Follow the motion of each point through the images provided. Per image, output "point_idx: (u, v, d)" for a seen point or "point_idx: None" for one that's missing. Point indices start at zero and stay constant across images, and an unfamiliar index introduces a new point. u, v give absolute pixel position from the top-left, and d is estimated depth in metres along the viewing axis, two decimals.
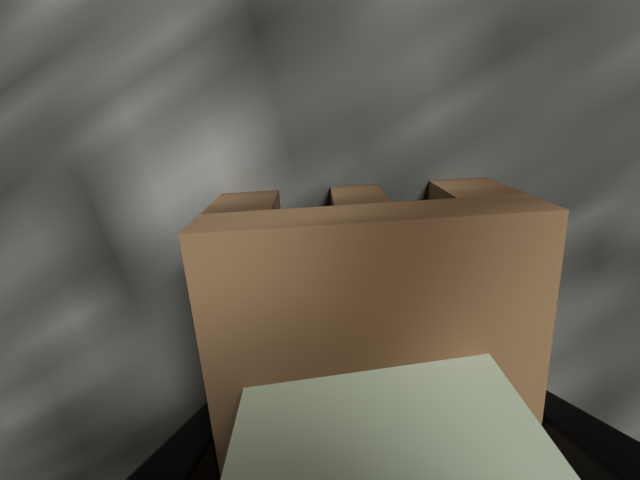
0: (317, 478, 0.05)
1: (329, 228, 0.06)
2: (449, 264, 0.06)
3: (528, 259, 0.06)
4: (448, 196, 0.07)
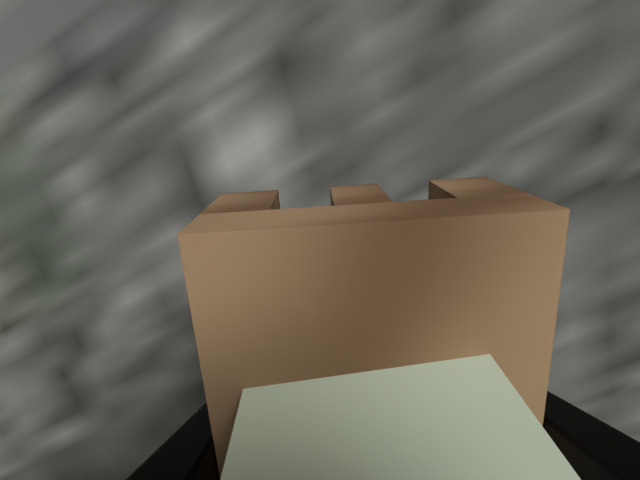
0: None
1: (329, 228, 0.06)
2: (450, 264, 0.06)
3: (529, 259, 0.06)
4: (448, 196, 0.07)
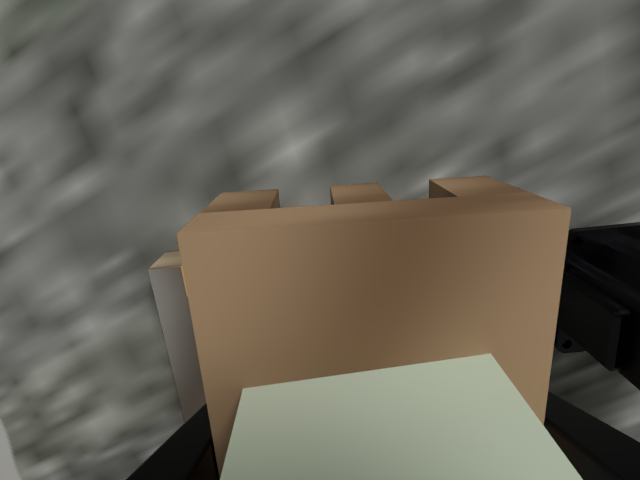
0: (317, 479, 0.05)
1: (329, 227, 0.06)
2: (450, 264, 0.06)
3: (529, 258, 0.06)
4: (449, 195, 0.07)
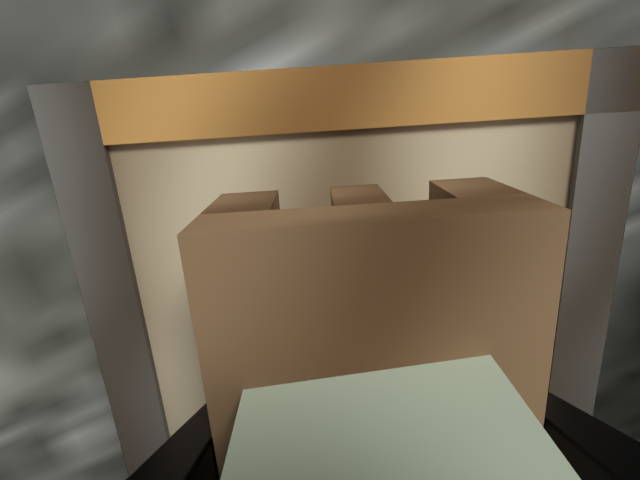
0: None
1: (329, 229, 0.06)
2: (450, 265, 0.06)
3: (529, 260, 0.06)
4: (449, 196, 0.07)
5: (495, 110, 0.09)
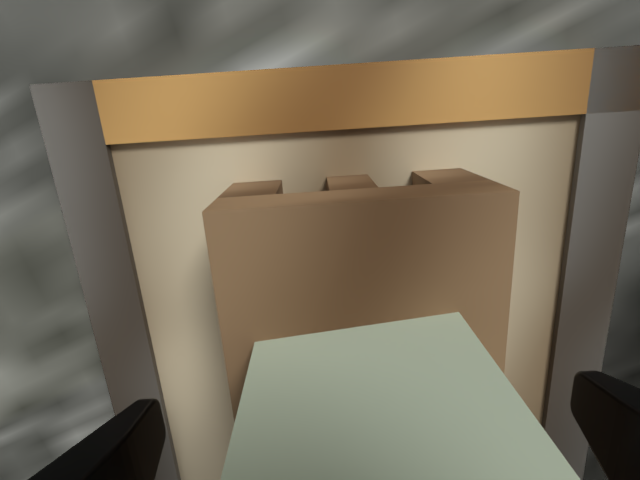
0: (316, 399, 0.06)
1: (324, 207, 0.07)
2: (423, 236, 0.07)
3: (487, 232, 0.07)
4: (426, 183, 0.09)
5: (496, 110, 0.09)
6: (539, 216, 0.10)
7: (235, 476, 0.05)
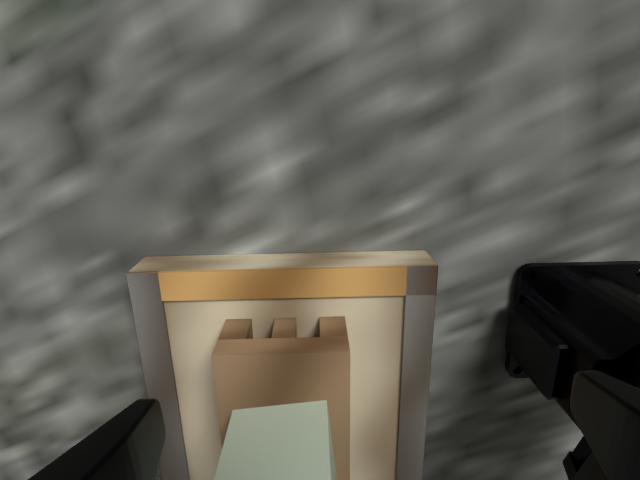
0: (254, 441, 0.15)
1: (265, 354, 0.17)
2: (308, 368, 0.17)
3: (337, 367, 0.17)
4: None
5: (360, 292, 0.19)
6: (387, 340, 0.20)
7: (221, 471, 0.14)
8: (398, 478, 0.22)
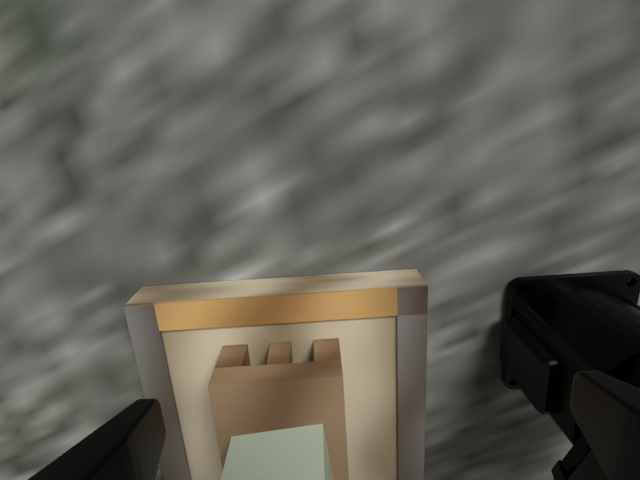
0: (252, 469, 0.16)
1: (260, 382, 0.17)
2: (303, 394, 0.17)
3: (331, 392, 0.17)
4: (314, 356, 0.18)
5: (352, 314, 0.19)
6: (381, 359, 0.20)
7: None
8: None
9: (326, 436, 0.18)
